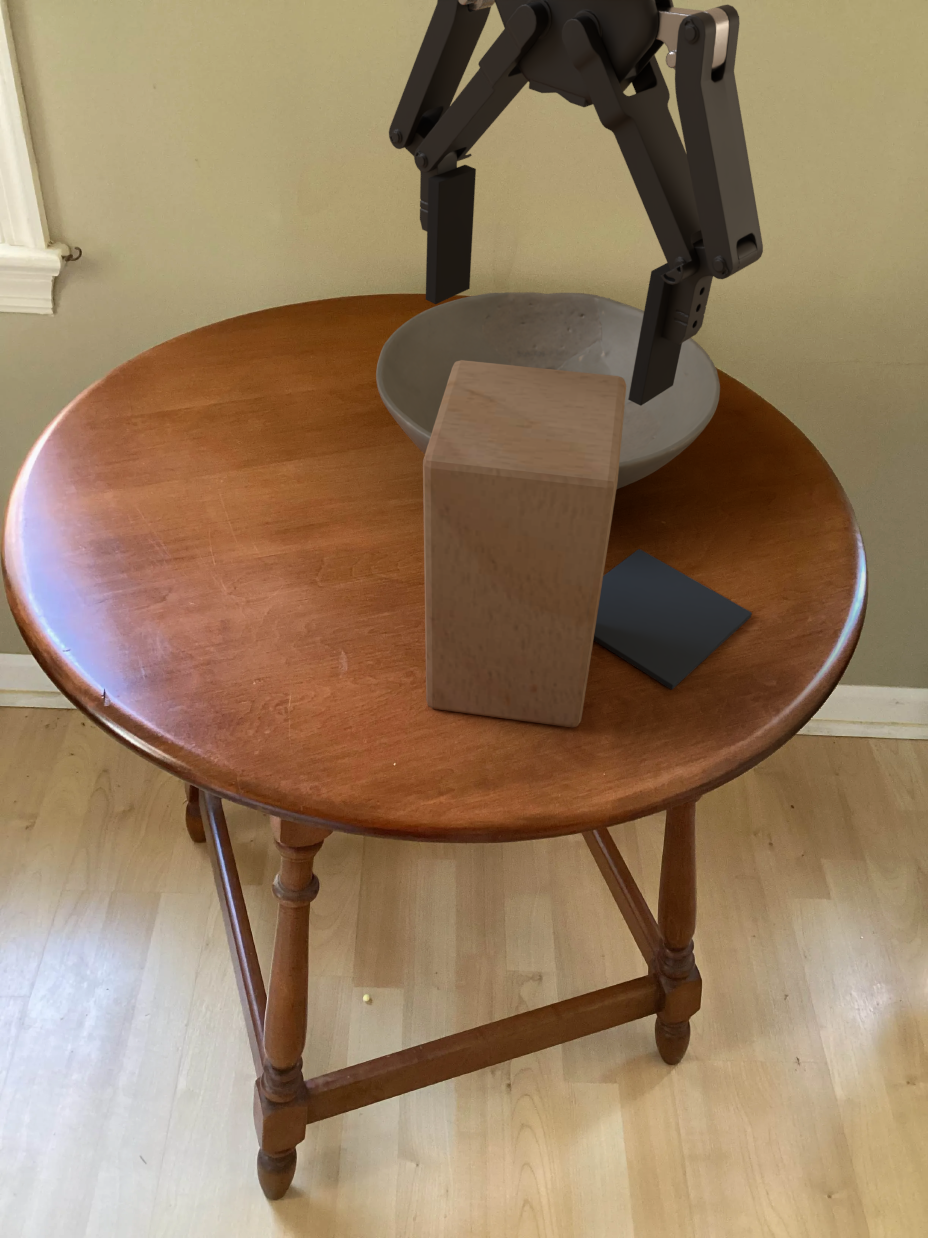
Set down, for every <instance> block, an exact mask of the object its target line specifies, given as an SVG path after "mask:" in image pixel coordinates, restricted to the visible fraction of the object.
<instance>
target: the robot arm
mask: <svg viewBox="0 0 928 1238" xmlns="http://www.w3.org/2000/svg"><path fill="white" fill-rule="evenodd" d="M494 4H495V6H496V9H497V12H498V14H499V17H500V19H501V20H500V21H501V22H502V25H503V27H504V29H503V30H502V31H501V33H500V34H499V35H498V37H497V38H496V39H495V41H494V42H493V43H492V44H491V46H490V47H489V48H488V49H487V50H486V52H485V53H484V55H483V56H482V57H481V59H480V60H479V62H478V64H477V65H478V67H479V68H478V70H477V71H476V72H475V73H474V75H473V76H472V77H471V79H470V80H469V81H468V82H467V84H466V85H465V87H464V88H463V89H462V90H461V91H460V93H459V94H458V95H457V97H456V98H455V96H456V94H457V91H458V88H459V86H460V84H461V83H462V82H461V81H462V80H463V78H464V74H465V73H466V70H467V68H468V66H469V63H470V61H471V58H472V57H473V54H474V52H475V49H476V47H477V44H478V42H479V40H480V38H481V35H482V32H483V31H484V28H485V25H486V23H487V21H488V19H489V16H490V13H491V9H492V6H494ZM739 32H740V14H739V12H738V10H737V9H736V8H735V7H734V6H733V5H731V4H722V5H718V6H715V7H712V8H709V9H708V8H707V9H705V10H701V9H692V8H683V7H675V5H674V2H673V0H437V2H436V5H435V8H434V10H433V13H432V15H431V18H430V21H429V23H428V26H427V29H426V31H425V35H424V37H423V39H422V42H421V44H420V47H419V49H418V52H417V54H416V58H415V59H414V63H413V66H412V68H411V71H410V72H409V76H408V79H407V81H406V83H405V87H404V89H403V91H402V94H401V97H400V99H399V102H398V105H397V108H396V109H395V113H394V115H393V118H392V120H391V123H390V126H389V129H388V138H389V141H390V143H391V145H392V146H393V147H394V148H395V149H397V150H402V149H405V150H406V151H407V152H408V153H410V155H412V156H413V159H414V160H413V161H414V164H415V166H416V168H417V170H418V171H420V177H419V178H420V181H419V182H420V183H419V184H420V185H419V200H420V201H419V221H420V226H421V230H422V231H424V232H426V260H425V261H426V262H425V263H426V264H425V265H426V267H425V300H426V301H428V302H429V303H432V304H434V305H437V304H440V303H441V302H444V301H446V300H449V299H450V298H453V297H455V296H457V295H460V294H462V293H464V292H465V291H468V290H470V287H471V269H472V251H473V231H474V213H475V196H476V195H475V193H476V190H475V189H476V177H477V175H476V174H477V169H476V168H475V167H472V166H469V165H467V164H463V165H460V166H458V162H461V161H463V160H466V159H468V158H470V157H472V153H468V152H470V150H471V149H472V148H473V147H474V146H475V144H476V143H477V142H479V140H480V138H481V137H482V136H483V135H484V134H485V133H486V132H487V130H488V129H489V128H490V127H491V126H492V124H493V123H494V122H495V121H497V119H498V117H499V116H500V115H502V113H503V111H504V110H505V109H506V108H507V107H508V106H509V105H510V103H511V102H512V101H513V100H514V99H515V98H516V97H517V95H518V94H519V93H520V92H521V90H522V89H523V88H524V87H525V86H526V85H527V84H528V83H529V84H528V89H529V90H531V91H534V92H538V93H541V94H557V95H559V96H560V97H561V98H563V99H564V100H566V101H567V102H568V103H570V104H573V105H576V106H579V107H582V108H587V107H589V106H592V105H593V108H594V110H595V113H596V115H597V117H598V119H599V121H600V123H601V125H602V126H603V127H604V128H605V129H607V130H608V131H610V132H611V133H612V134H613V136H614V137H615V140H616V142H617V145H618V148H619V150H620V152H621V154H622V157H623V159H624V161H625V165H626V166H627V169H628V171H629V174H630V176H631V178H632V181H633V184H634V186H635V188H636V191H637V193H638V195H639V198H640V200H641V203H642V205H643V208H644V210H645V213H646V214H647V217H648V219H649V222H650V225H651V227H652V229H653V232H654V234H655V236H656V239H657V241H658V244H659V246H660V248H661V250H662V252H663V255H664V258H665V260H666V262H665V263H664V264H662V265H660V266H658V267H656V268H654V269H653V270H651V271H650V276H649V282H648V287H647V293H646V297H645V298H646V299H645V305H644V309H643V311H644V315H643V320H642V326H641V332H640V337H639V343H638V348H637V354H636V359H635V365H634V370H633V376H632V382H631V387H630V393H629V398H628V400H630V401H632V402H634V403H636V404H638V405H640V406H642V405H643V404H645V403H646V402H648V401H649V400H651V399H652V398H654V397H656V396H657V395H659V394H660V393H662V392H663V391H665V390H667V389H668V388H670V387H671V386H673V384H674V379H675V374H676V369H677V365H678V360H679V355H680V350H681V346H682V343H683V342H684V341H686V340H688V339H689V338H693V337H694V336H696V335H697V334H698V333H699V331H700V329H701V328H702V327H703V324H704V319H705V314H706V310H707V305H708V300H709V296H710V292H711V287H712V283H713V279H714V278H715V279H717V280H725V279H727V278H729V277H731V276H733V275H735V274H736V273H738V272H740V271H742V270H744V269H745V268H747V267H749V266H751V265H752V264H754V263H755V262H757V261H758V260H760V259H761V258H762V255H763V253H764V244H763V237H762V233H761V225H760V220H759V214H758V208H757V203H756V202H757V201H756V196H755V190H754V185H753V178H752V172H751V165H750V159H749V154H748V148H747V147H748V146H747V141H746V136H745V129H744V123H743V117H742V111H741V106H740V105H741V104H740V100H739V92H738V88H737V81H736V75H735V65H736V58H737V49H738V40H739ZM663 45H665V46H666V49H667V50H668V52H667V53H666V56H665V64H666V66H667V67H668V68H669V69H673V70H674V88H675V89H674V90H675V99H676V105H677V110H678V116H679V121H680V126H681V127H680V128H681V132H682V136H683V137H682V138H683V141H682V139H681V137H680V134H679V131H678V130H677V127H676V123H675V122H674V119H673V116H672V114H671V112H670V109H669V101H670V98H671V97H670V95H671V94H670V90H669V88H668V84H667V83H666V80H665V77H664V75H663V72H662V69H661V68H660V65H659V63H658V60H657V58H656V54H657V53H658V52H659V50H660V49H661V48H662V47H663ZM630 85H632V87H633V90H634V92H635V93H634V94H631V95H627V94H626V93H625V91H626V90H627V89H628V87H629V86H630ZM453 100H454V101H453ZM683 143H684V144H683Z"/></svg>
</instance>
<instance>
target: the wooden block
mask: <svg viewBox="0 0 928 1238" xmlns="http://www.w3.org/2000/svg"><path fill="white" fill-rule="evenodd" d="M625 396H626V383H625V380H624V378H622V377H619V376H612V375H602V374H592V373H583V372H573V371H563V370H553V369H543V368H533V367H523V366H514V365H504V364H494V363H484V362H474V361H464V360H461V361H456V362H455V363H454V365H453V367H452V370H451V373H450V376H449V380H448V383H447V386H446V389H445V392H444V395H443V399H442V402H441V405H440V408H439V411H438V415H437V418H436V421H435V424H434V427H433V431H432V434H431V437H430V440H429V443H428V447H427V450H426V453H425V454H424V456H423V460H422V488H423V489H422V490H423V491H422V493H423V494H422V496H423V500H422V502H423V553H424V554H423V561H424V565H423V568H424V624H425V625H424V630H425V631H424V635H425V636H424V637H425V638H424V639H425V640H424V642H425V643H424V644H425V697H426V698H425V700H426V704H427V706H428V707H429V708H431V709H432V710H433V709H434V710H440V711H441V710H442V711H447V712H456V713H463V714H469V715H478V716H484V717H491V718H500V719H506V720H507V719H508V720H515V721H521V722H529V723H537V724H544V725H551V726H558V727H567V728H578V726H579V725H580V723H581V722H582V717H583V711H584V704H585V698H586V690H587V685H588V677H589V672H590V665H591V658H592V651H593V644H594V640H593V639H594V633H595V626H596V620H597V613H598V606H599V600H600V593H601V587H602V580H603V576H604V575H605V574H604V573H605V567H606V559H607V552H608V547H609V541H610V535H611V534H610V533H611V528H612V527H611V526H612V521H613V515H614V508H615V500H616V494H617V489H616V488H617V481H618V471H619V460H620V449H621V438H622V428H623V417H624V406H625Z"/></svg>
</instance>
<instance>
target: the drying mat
mask: <svg viewBox="0 0 928 1238" xmlns="http://www.w3.org/2000/svg"><path fill="white" fill-rule="evenodd" d="M752 614H753V611H750V610H749V609H746V608H745V607H743V606H741V605H739V604H738V603H735V602H734V601H732V600H730V599H729V598H727V597H725V596H723V595H722V594H720V593H718V592H716V591H714V590H713V589H712V588H709V587H708V586H706V585H704V584H702V583H700V582H699V581H697V580H696V579H693V578H691V577H690V576H688V575H687V574H685V573H683V572H681V571H679V570H677V568H674V567H672V566H671V565H669V564H667V563H666V562H664V561H661V560H660V559H658V558H656V557H654V556H653V555H651V554H650V553H647V552H646V551H644V550H643V549H641V548H637V550H635V551H634V552H633V553H631V554H630V555H629V556H627V557H626V558H624V560H622V561H621V562H620V563H618V564H617V565H616V566H614V567H613V568H612V569H611V570H609V571H608V572H606V574H603V580H602V587H601V593H600V600H599V606H598V613H597V620H596V626H595V633H594V639H593V642H595V643H597V644H598V645H600V646H602V647H603V648H605V649H606V650H608V651H609V652H611V653H613V654H614V655H616V656H618V657H619V658H620V659H622V660H623V661H625V662H627V663H629V664H630V665H631V666H633V667H634V668H636V669H638V670H639V671H641V672H642V673H644V674H646V676H647V675H648V676H649V677H651V678H652V679H653V680H655V681H657V682H659V683H660V684H661V685H663V686H665V687H666V688H668V689H670V690H673V689H674V688H676V687H677V686H678V685H679V684H680V683H681V682H682V681H683V680H684V679H685V678H686V677H688V676H689V675H690V674H691V673H692V672H693V671H694V670H695V669H697V667H698V666H699V665H701V664H702V663H703V662H704V661H705V660H706V659H707V658H709V657H710V656H711V654H713V653H714V652H715V651H716V650H717V649H718V648H719V647H720V646H721V645H723V644H724V643H725V641H727V640H728V639H729V638H730V637H731V636H732V635H733V634H734V633H735V632H736V631H738V630H739V629H740V628H741V627H743V625H744V624H746V622H747V621H749V620H750V619H751V618H752Z"/></svg>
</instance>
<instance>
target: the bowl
mask: <svg viewBox="0 0 928 1238" xmlns="http://www.w3.org/2000/svg"><path fill="white" fill-rule="evenodd" d="M643 315H644V309H640V308H638V307H635V306H632V305H630V304H626V303H623V302H621V301H617V300H614V299H612V298H610V297H605V296H600V295H597V294H593V293H592V294H591V293H584V292H551V293H543V292H534V291H532V292H531V291H529V292H528V291H526V292H523V291H522V292H520V291H519V292H518V291H517V292H516V291H515V292H514V291H513V292H512V291H511V292H508V291H507V292H487V293H481V294H477V295H470V296H465V297H462V298H457V299H453V300H451V301H448V302H444V303H441V304H439V305H435V306H433V307H431V308H428V309H426V310H423V311H422V312H420V313H418V314H416V315H415V316H413V317H411V318H410V319H409V320H407V321H405V322H404V323H403V324H402V325H400V326H399V327H398V328H397V329H396V330H394V332H393V333H392V334H391V335H390V336H389V338H388V339H387V340H386V341H385V343H384V344H383V346H382V348H381V351H380V354H379V356H378V360H377V364H376V372H375V378H376V379H375V381H376V387H377V391H378V394H379V396H380V399H381V401H382V402H383V403H382V404H383V405H384V407H385V408H386V409H387V411H388V412H389V414H390V415H391V417H392V418H393V420H394V421H395V422H396V423H397V424H398V426H399V427H400V428H401V430H402V431H403V432H404V433H405V435H406V436H407V437H408V438H409V439H410V441H411V442H412V443H413V444H414V445H415V446H416V448H418V450H419V451H420V452H422V453H423V455H425V453H426V450H427V447H428V443H429V440H430V437H431V434H432V431H433V427H434V424H435V421H436V418H437V415H438V411H439V408H440V405H441V402H442V399H443V395H444V392H445V389H446V386H447V383H448V380H449V376H450V373H451V370H452V367H453V365H454V363H455V362H456V361H461V360H464V361H474V362H484V363H494V364H504V365H514V366H523V367H533V368H543V369H553V370H563V371H573V372H583V373H592V374H602V375H612V376H619V377H622V378H624V380H625V383H626V396H625V406H624V417H623V428H622V438H621V449H620V460H619V471H618V481H617V488H616V490H619V489H621V488H624V487H626V486H628V485H631V484H633V483H636V482H638V481H640V480H642V479H644V478H646V477H648V476H650V475H652V474H653V473H655V472H657V471H658V470H660V469H661V468H663V467H664V466H665V465H667V464H668V463H670V462H671V461H672V460H674V459H675V458H676V457H678V456H679V455H680V454H681V453H683V451H685V450H686V449H687V448H688V447H689V446H691V444H692V443H693V442H694V441H695V440H696V439H697V438H698V437H699V436H700V435H701V433H703V431H704V430H705V429H706V427H707V426H708V425H709V423H710V421H711V420H712V418H713V417H714V415H715V413H716V410H717V408H718V404H719V401H720V394H721V393H720V392H721V384H720V378H719V374H718V370H717V368H716V366H715V363H714V361H713V360H712V359H711V357H710V355H709V354H708V352H707V351H706V350H705V349H704V348H703V347H702V346H701V345H700V344H699V343H698V342H697V341H696V340H695V339H694V338H693V337H691V338H689V339H688V340H686V341H684V342H683V343H682V346H681V350H680V355H679V360H678V365H677V369H676V374H675V379H674V384H673V386H671V387H670V388H668V389H667V390H665V391H663V392H662V393H660V394H659V395H657V396H656V397H654V398H652V399H651V400H649V401H648V402H646V403H645V404H643V405H642V406H640V405H638V404H636V403H634V402H632V401H630V400H628V398H629V393H630V387H631V382H632V376H633V370H634V365H635V359H636V354H637V348H638V343H639V337H640V332H641V326H642V320H643Z"/></svg>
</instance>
